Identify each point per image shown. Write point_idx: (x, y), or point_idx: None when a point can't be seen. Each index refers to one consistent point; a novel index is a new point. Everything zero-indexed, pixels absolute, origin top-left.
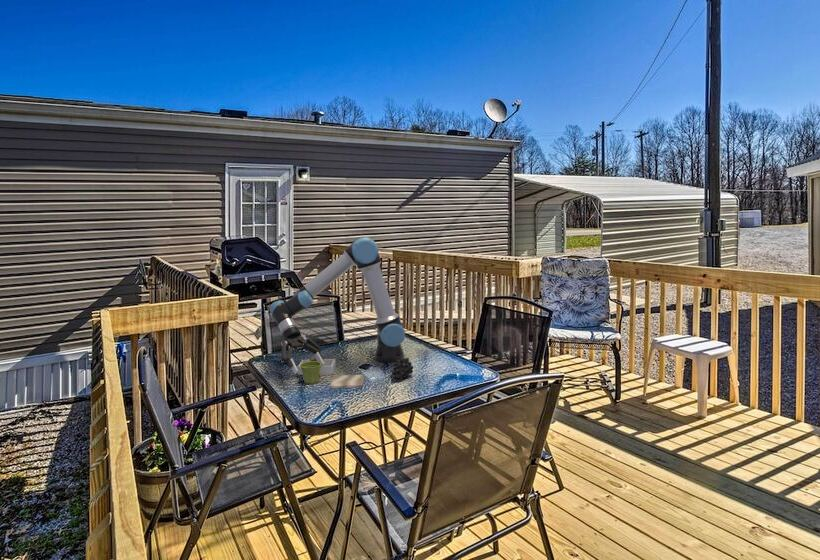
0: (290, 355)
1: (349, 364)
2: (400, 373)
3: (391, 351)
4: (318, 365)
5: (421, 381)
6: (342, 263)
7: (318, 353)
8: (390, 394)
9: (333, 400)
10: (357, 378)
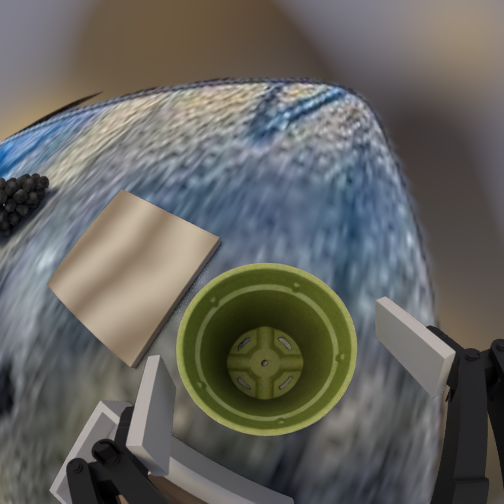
0: (464, 381)
1: (26, 465)
2: (28, 174)
3: None
4: (195, 366)
5: None
6: None
7: (133, 431)
8: (120, 129)
9: (262, 145)
10: (85, 260)
